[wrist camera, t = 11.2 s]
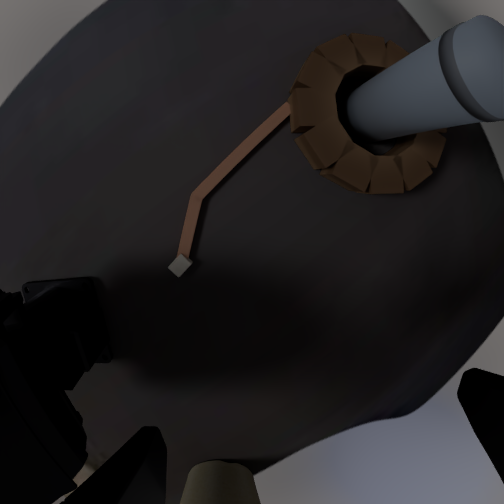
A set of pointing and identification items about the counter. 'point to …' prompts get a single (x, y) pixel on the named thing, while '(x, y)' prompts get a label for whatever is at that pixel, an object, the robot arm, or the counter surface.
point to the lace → (213, 179)
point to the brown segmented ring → (334, 135)
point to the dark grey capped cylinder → (433, 86)
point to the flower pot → (220, 484)
